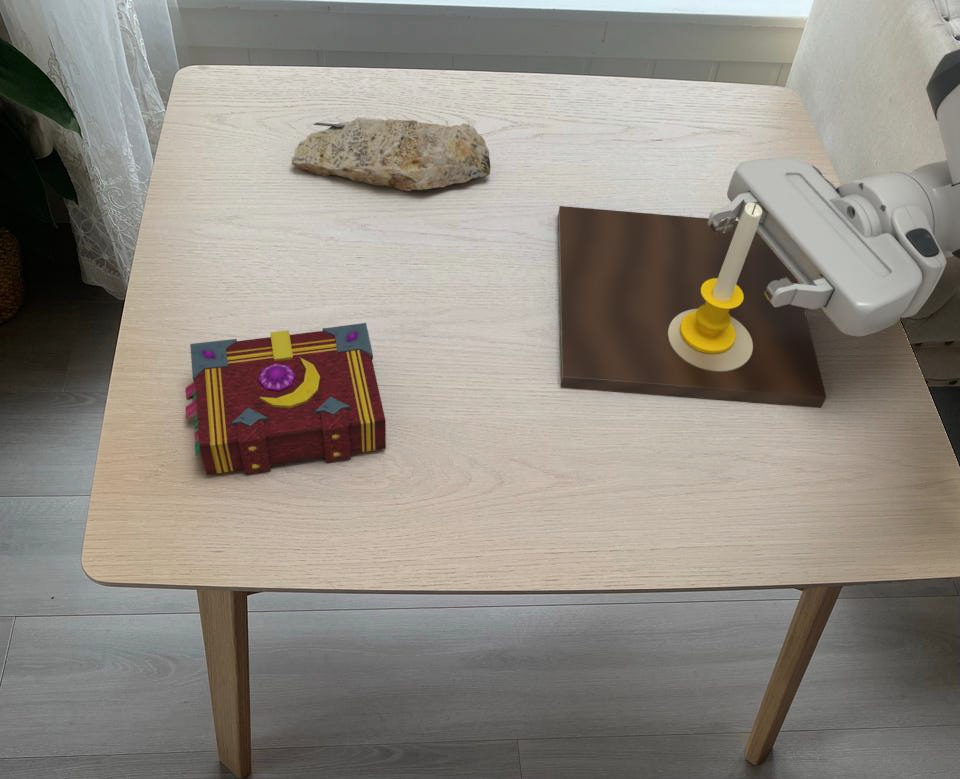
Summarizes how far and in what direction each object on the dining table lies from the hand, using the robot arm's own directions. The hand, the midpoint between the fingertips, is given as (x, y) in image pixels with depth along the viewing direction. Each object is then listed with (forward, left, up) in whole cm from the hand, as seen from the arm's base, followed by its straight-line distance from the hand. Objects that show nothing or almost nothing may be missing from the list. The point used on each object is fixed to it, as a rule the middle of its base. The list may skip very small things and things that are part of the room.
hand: (740, 258), depth 82 cm
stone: (+40, +6, -12) cm, 42 cm away
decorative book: (+19, +35, -12) cm, 42 cm away
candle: (0, 0, -10) cm, 10 cm away
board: (+6, -3, -12) cm, 13 cm away
